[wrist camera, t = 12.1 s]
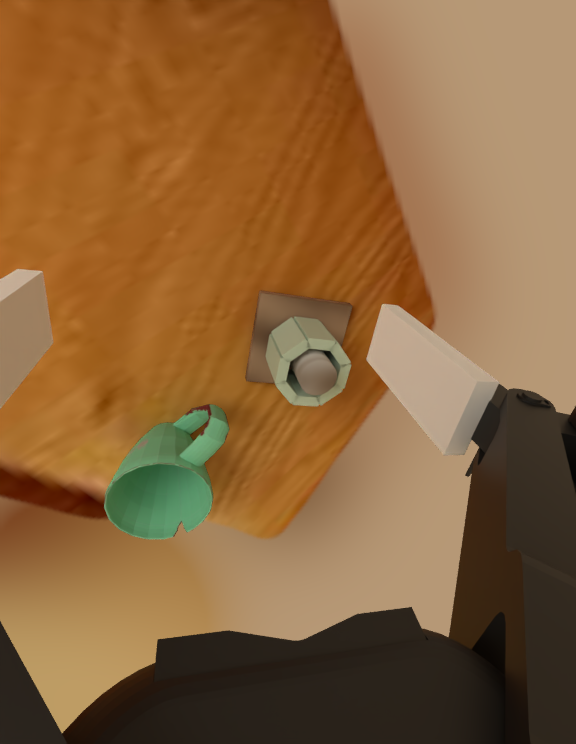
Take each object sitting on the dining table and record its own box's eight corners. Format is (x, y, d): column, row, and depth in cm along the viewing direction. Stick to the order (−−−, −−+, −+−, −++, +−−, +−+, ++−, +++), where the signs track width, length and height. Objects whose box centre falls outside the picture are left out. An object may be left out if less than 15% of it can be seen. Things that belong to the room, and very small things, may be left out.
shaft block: (259, 290, 38) (274, 319, 30) (349, 303, 41) (384, 333, 33) (245, 376, 42) (255, 422, 35) (327, 383, 45) (354, 426, 37)
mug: (180, 483, 47) (175, 551, 39) (106, 450, 43) (82, 519, 34) (252, 400, 44) (265, 455, 35) (180, 356, 40) (174, 406, 31)
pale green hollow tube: (273, 313, 38) (284, 335, 33) (337, 321, 40) (357, 343, 35) (262, 374, 41) (270, 403, 36) (322, 379, 43) (338, 407, 38)
